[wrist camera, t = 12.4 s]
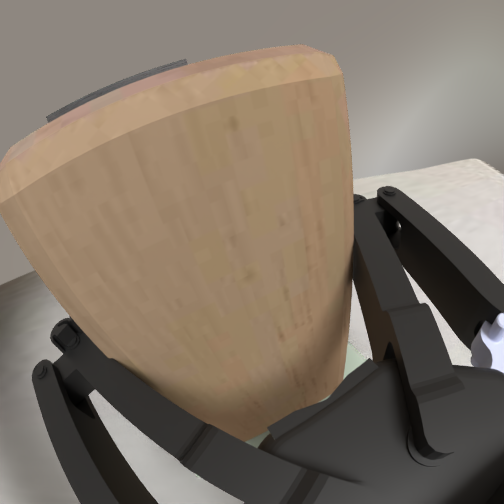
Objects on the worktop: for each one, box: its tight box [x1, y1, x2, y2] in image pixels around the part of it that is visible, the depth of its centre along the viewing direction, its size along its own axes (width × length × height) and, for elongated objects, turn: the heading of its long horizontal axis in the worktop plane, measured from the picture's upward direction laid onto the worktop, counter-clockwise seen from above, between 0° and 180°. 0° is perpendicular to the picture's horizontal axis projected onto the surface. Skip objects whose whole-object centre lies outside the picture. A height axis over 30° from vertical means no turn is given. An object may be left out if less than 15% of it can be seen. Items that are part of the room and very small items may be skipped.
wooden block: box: [0, 44, 354, 442], centre depth 15 cm, size 10×10×20 cm
